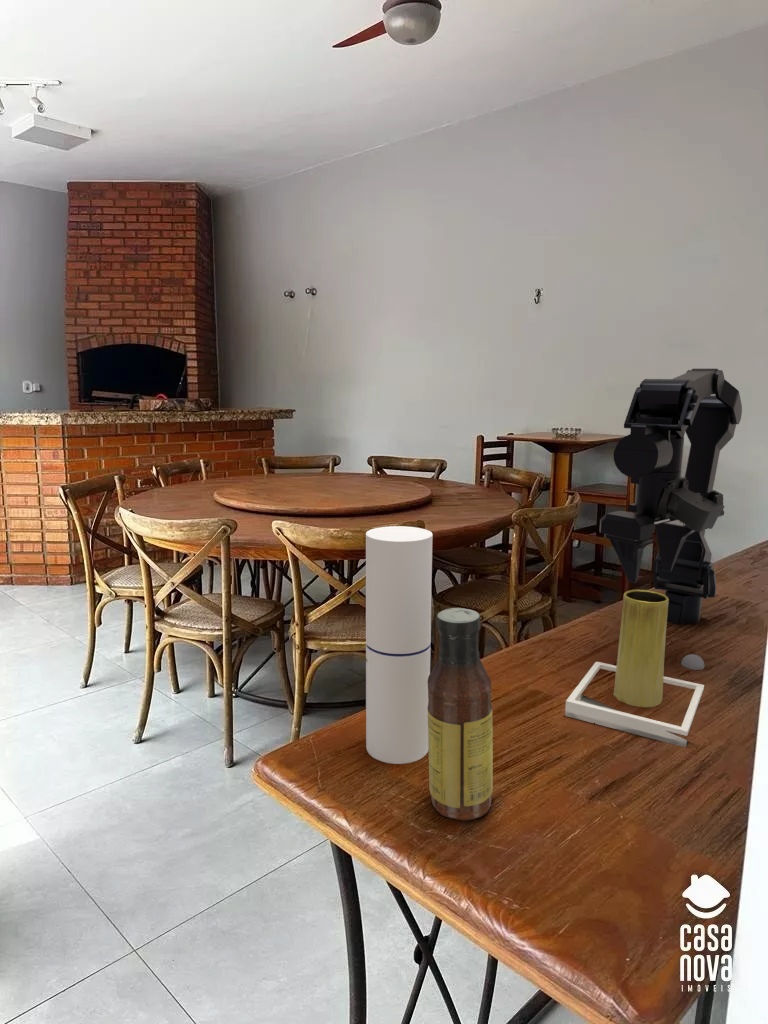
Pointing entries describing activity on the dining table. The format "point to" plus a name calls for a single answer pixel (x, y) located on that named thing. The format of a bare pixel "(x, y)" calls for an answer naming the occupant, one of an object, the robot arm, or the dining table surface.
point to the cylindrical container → (398, 642)
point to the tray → (616, 719)
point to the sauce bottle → (460, 720)
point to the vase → (641, 648)
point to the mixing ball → (693, 662)
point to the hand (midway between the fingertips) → (650, 576)
